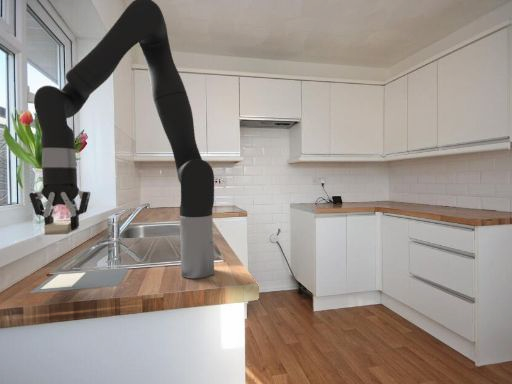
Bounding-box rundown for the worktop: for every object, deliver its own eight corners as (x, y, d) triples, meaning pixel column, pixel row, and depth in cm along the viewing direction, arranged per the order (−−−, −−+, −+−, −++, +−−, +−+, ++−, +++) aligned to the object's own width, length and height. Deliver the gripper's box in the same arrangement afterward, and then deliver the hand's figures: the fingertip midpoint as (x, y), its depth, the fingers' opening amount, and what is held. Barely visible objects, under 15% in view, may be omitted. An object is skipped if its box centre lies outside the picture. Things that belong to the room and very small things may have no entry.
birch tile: (66, 234, 75) (66, 224, 75) (44, 234, 74) (44, 225, 74) (78, 228, 83) (78, 220, 82) (58, 229, 81) (57, 220, 81)
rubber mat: (129, 269, 90) (129, 267, 90) (118, 287, 75) (118, 285, 75) (56, 274, 85) (56, 272, 85) (29, 295, 71) (28, 292, 70)
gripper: (20, 165, 72) (23, 234, 73) (85, 166, 75) (87, 231, 76) (35, 166, 79) (38, 229, 80) (94, 166, 82) (96, 226, 83)
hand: (62, 230), depth 78 cm, fingers closed on birch tile, 5 cm apart
